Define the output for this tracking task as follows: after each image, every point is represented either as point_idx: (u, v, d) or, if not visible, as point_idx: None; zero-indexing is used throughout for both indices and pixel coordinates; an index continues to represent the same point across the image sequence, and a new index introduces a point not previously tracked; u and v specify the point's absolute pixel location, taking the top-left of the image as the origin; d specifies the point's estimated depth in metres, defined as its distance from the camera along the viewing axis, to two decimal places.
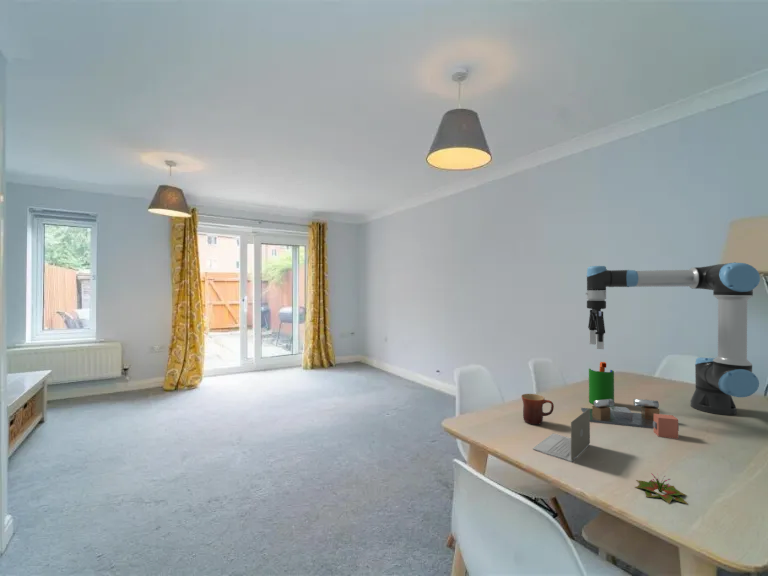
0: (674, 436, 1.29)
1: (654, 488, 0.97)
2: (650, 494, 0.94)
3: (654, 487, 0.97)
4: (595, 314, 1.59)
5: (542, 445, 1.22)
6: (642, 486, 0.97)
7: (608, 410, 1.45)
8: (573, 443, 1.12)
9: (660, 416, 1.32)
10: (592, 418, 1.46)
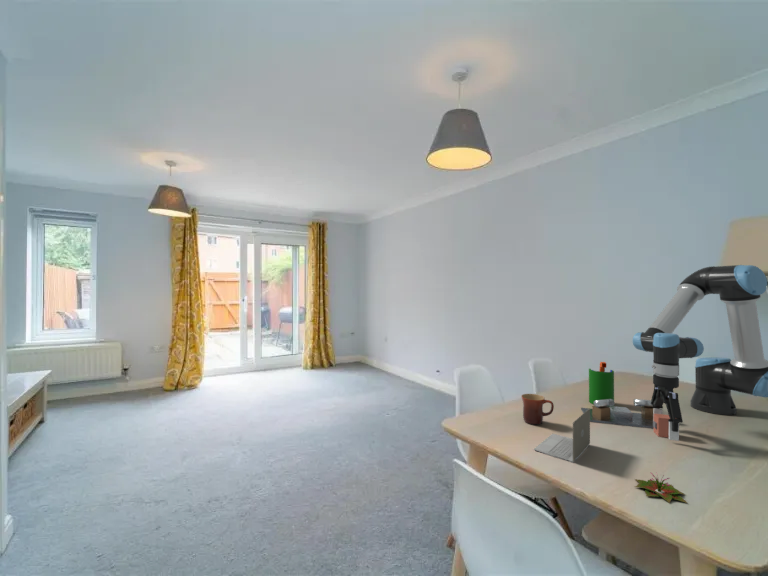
0: None
1: (653, 487, 0.97)
2: (650, 493, 0.94)
3: (653, 486, 0.97)
4: (666, 394, 1.28)
5: (543, 446, 1.21)
6: (641, 485, 0.97)
7: (608, 410, 1.45)
8: (575, 444, 1.12)
9: (660, 416, 1.31)
10: (592, 418, 1.46)
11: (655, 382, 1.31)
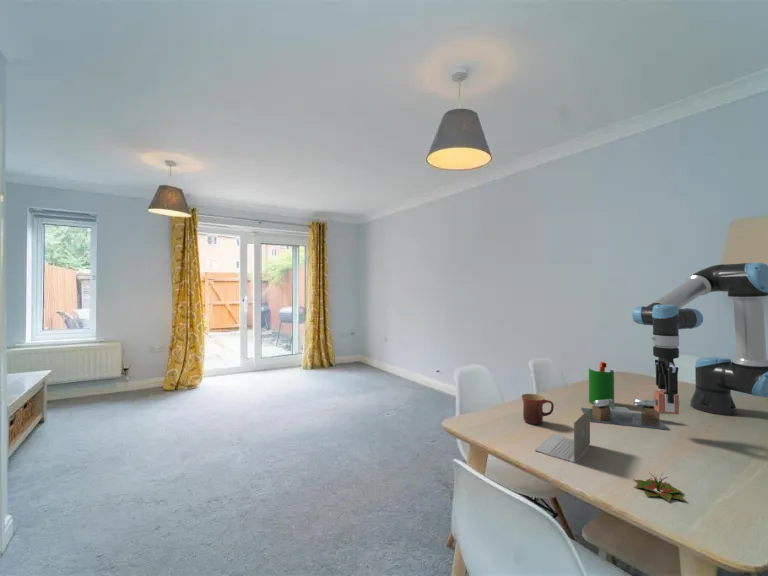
0: (675, 412, 1.29)
1: (652, 487, 0.97)
2: (650, 493, 0.94)
3: (652, 486, 0.98)
4: (666, 365, 1.28)
5: (543, 446, 1.21)
6: (640, 485, 0.97)
7: (608, 410, 1.45)
8: (576, 444, 1.11)
9: (661, 392, 1.32)
10: (592, 418, 1.46)
11: (655, 353, 1.32)
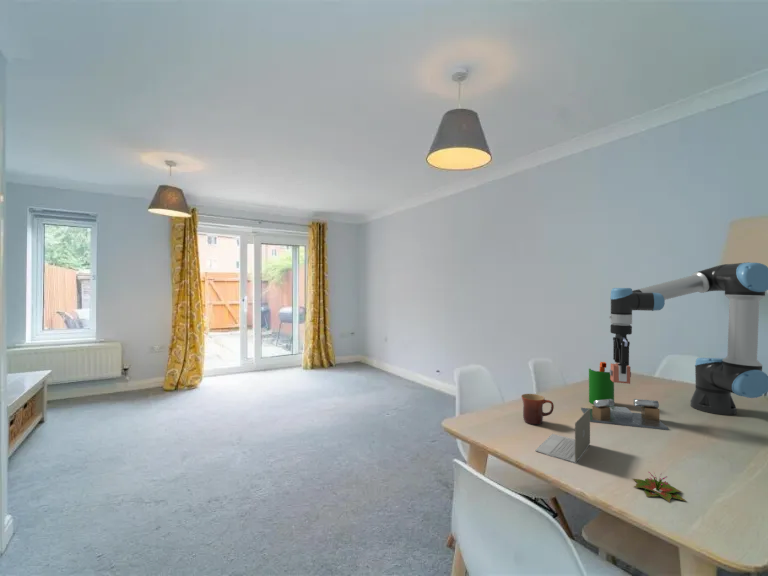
0: (627, 381, 1.47)
1: (651, 486, 0.97)
2: (650, 493, 0.94)
3: (651, 485, 0.98)
4: (620, 340, 1.47)
5: (544, 447, 1.21)
6: (640, 485, 0.97)
7: (608, 410, 1.45)
8: (577, 444, 1.11)
9: (616, 365, 1.50)
10: (592, 418, 1.46)
11: (612, 330, 1.50)
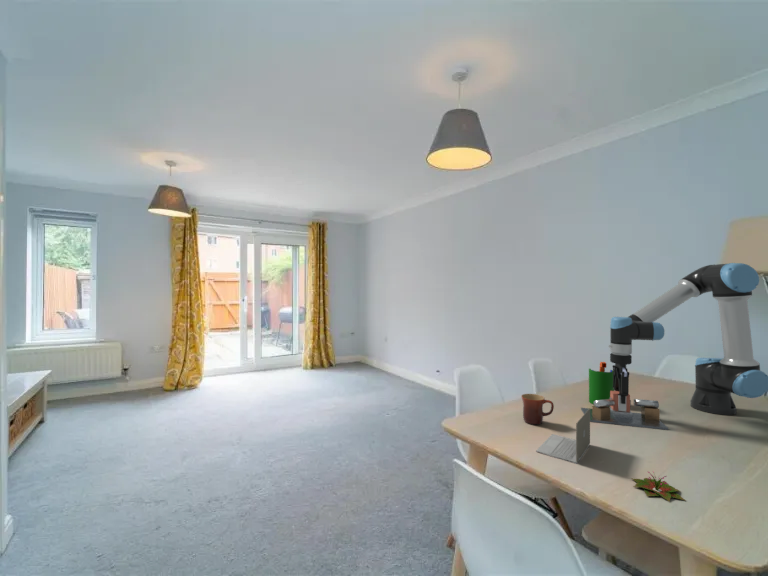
0: (626, 409, 1.47)
1: (650, 486, 0.98)
2: (649, 493, 0.94)
3: (650, 485, 0.98)
4: (620, 370, 1.47)
5: (544, 447, 1.20)
6: (639, 485, 0.98)
7: (608, 410, 1.45)
8: (578, 444, 1.11)
9: (615, 392, 1.50)
10: (592, 418, 1.46)
11: (611, 360, 1.50)
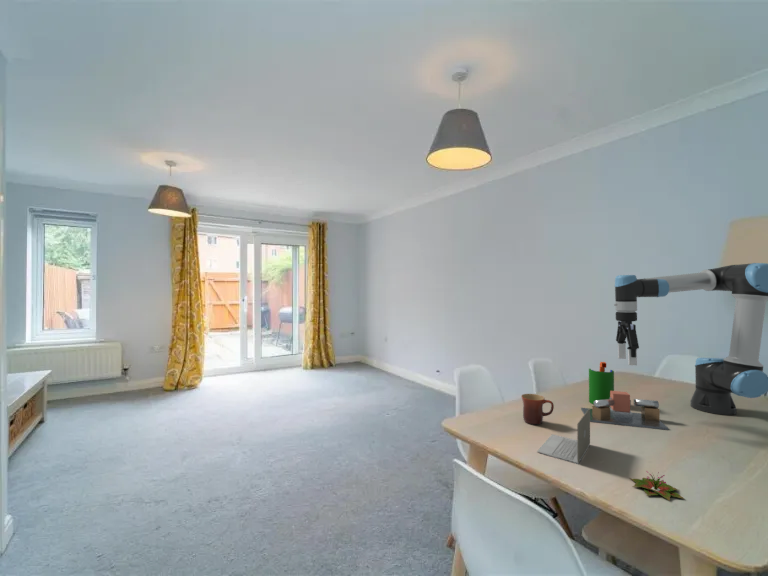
0: (626, 409, 1.47)
1: (649, 485, 0.98)
2: (649, 492, 0.95)
3: (648, 484, 0.98)
4: (626, 327, 1.47)
5: (545, 448, 1.20)
6: (639, 484, 0.98)
7: (608, 410, 1.45)
8: (579, 445, 1.11)
9: (615, 392, 1.50)
10: (592, 418, 1.46)
11: (617, 318, 1.50)
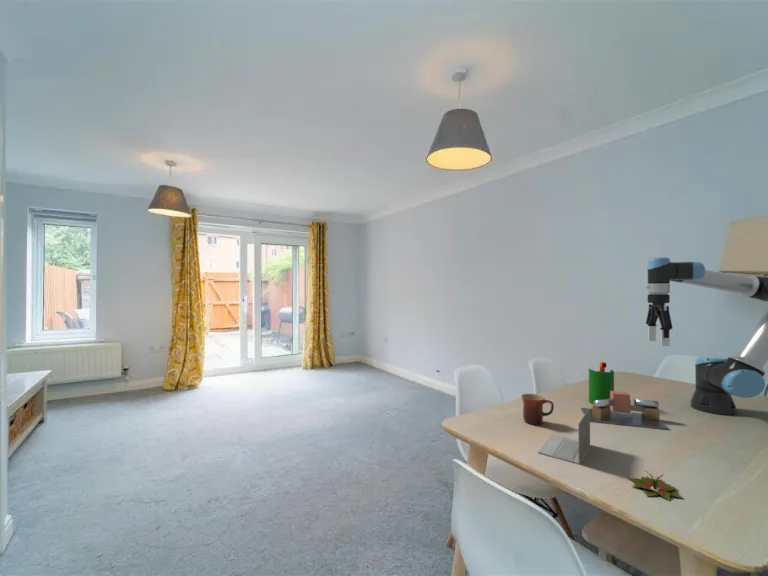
0: (626, 409, 1.47)
1: (648, 485, 0.98)
2: (649, 492, 0.95)
3: (647, 484, 0.99)
4: (658, 309, 1.49)
5: (546, 448, 1.20)
6: (638, 484, 0.98)
7: (608, 410, 1.45)
8: (580, 445, 1.11)
9: (615, 392, 1.50)
10: (592, 418, 1.46)
11: (649, 300, 1.52)
